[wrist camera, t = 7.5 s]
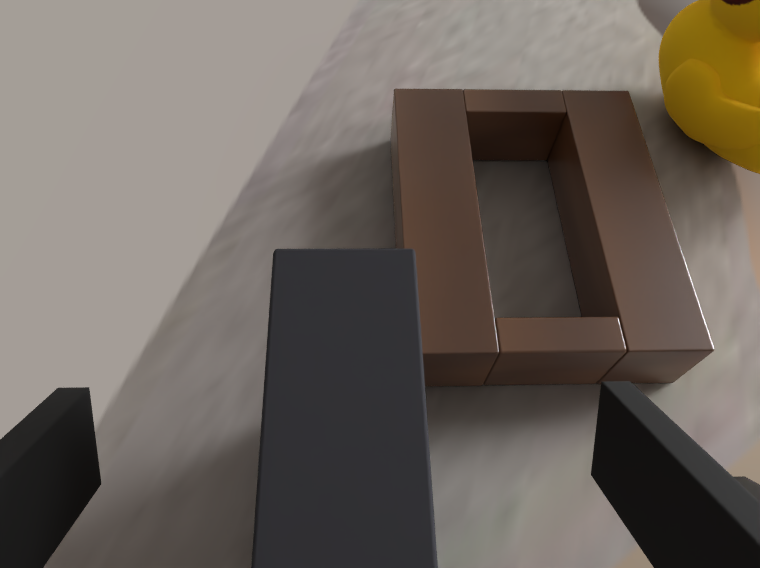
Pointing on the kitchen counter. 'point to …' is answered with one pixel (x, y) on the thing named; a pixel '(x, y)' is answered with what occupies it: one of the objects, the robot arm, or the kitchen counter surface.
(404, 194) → the seat base
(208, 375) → the kitchen counter surface
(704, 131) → the duckling
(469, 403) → the kitchen counter surface
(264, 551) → the dark grey rectangular block
